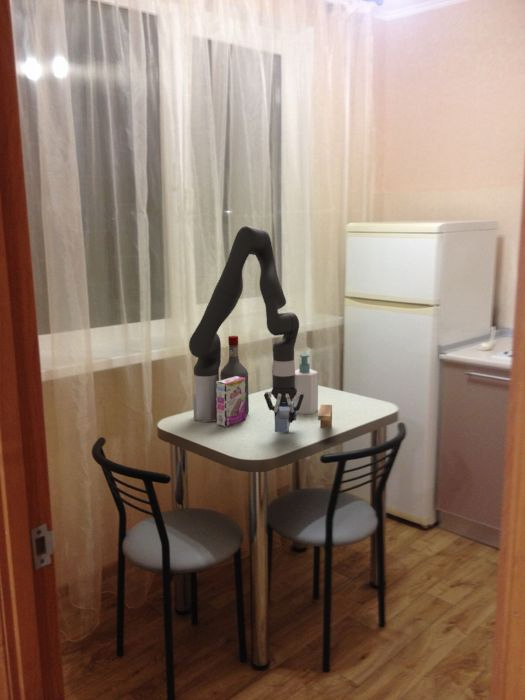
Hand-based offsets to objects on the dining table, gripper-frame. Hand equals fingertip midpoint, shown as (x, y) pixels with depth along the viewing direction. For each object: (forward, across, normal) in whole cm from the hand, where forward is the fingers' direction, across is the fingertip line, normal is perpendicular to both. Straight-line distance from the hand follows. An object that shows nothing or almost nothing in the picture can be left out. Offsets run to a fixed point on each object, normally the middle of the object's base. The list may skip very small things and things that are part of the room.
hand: (284, 421), depth 217 cm
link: (0, 0, 0) cm, 0 cm away
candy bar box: (+6, +21, -14) cm, 26 cm away
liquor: (+6, +22, -25) cm, 34 cm away
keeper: (+6, -13, -7) cm, 16 cm away
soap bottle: (+6, -4, -32) cm, 33 cm away
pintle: (+6, 0, -6) cm, 8 cm away
